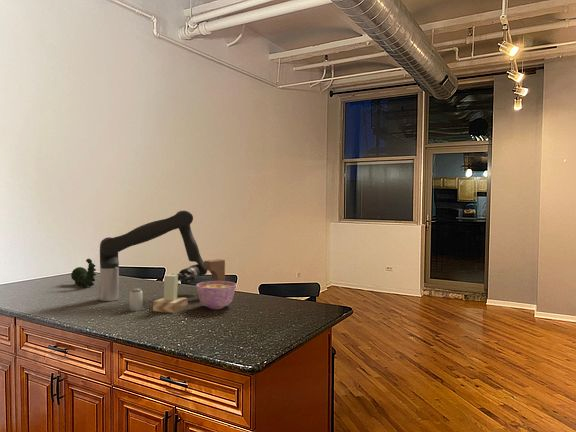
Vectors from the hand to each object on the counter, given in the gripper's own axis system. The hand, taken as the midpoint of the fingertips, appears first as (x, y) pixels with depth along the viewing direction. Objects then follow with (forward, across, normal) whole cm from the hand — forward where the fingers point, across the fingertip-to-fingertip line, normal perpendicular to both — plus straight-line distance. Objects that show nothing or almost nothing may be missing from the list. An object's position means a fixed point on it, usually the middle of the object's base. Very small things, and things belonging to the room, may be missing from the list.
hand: (176, 280), depth 219 cm
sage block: (+7, 0, +8) cm, 11 cm away
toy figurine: (-39, -76, +13) cm, 87 cm away
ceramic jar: (+11, -16, +13) cm, 23 cm away
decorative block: (-27, +12, +13) cm, 32 cm away
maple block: (+8, 0, +14) cm, 15 cm away
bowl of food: (0, +21, +13) cm, 25 cm away
